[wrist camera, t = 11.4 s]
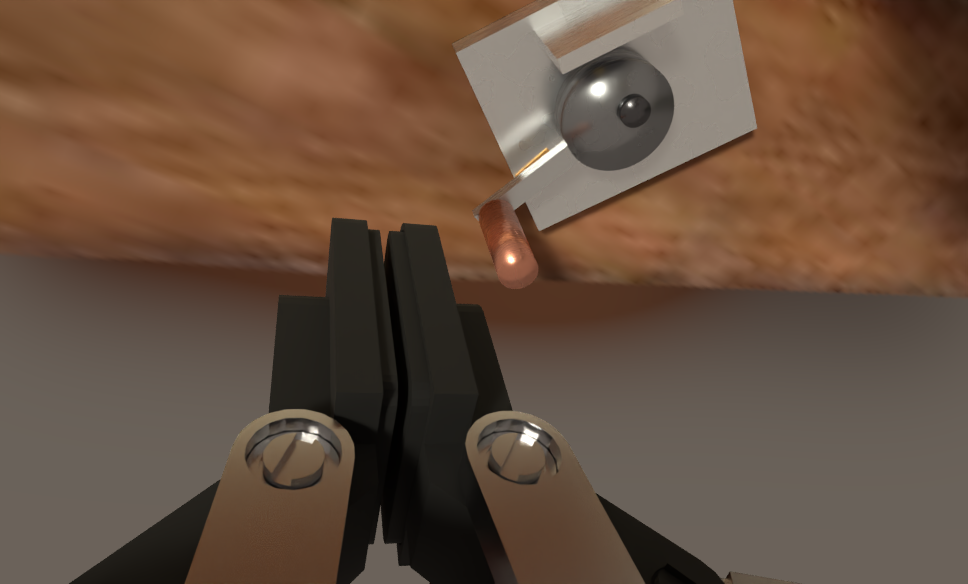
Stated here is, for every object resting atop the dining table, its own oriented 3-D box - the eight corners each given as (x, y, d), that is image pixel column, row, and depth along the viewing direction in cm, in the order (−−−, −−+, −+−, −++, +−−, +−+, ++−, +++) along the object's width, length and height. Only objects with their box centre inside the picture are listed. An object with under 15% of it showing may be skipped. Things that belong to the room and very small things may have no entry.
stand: (703, -86, 35) (762, -64, 30) (745, 118, 42) (797, 160, 37) (451, 43, 36) (470, 83, 32) (533, 218, 44) (558, 272, 39)
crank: (627, 24, 36) (689, 76, 30) (679, 110, 39) (744, 171, 33) (442, 172, 38) (464, 246, 32) (505, 239, 42) (536, 318, 36)
